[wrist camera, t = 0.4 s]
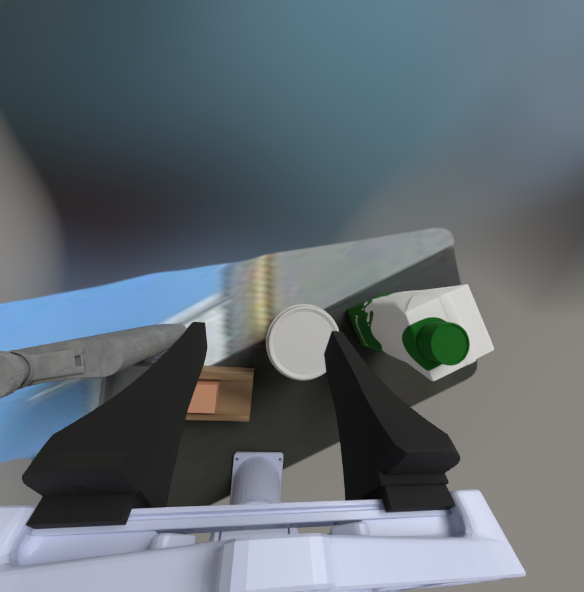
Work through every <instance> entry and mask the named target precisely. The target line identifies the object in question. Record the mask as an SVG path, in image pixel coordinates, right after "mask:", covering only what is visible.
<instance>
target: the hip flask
mask: <svg viewBox="0 0 584 592" xmlns="http://www.w3.org/2000/svg"><path fill="white" fill-rule="evenodd" d="M185 331H186V327H185V326H183V325H181V324H161V325H151V326H144V327H139V328H133V329H128V330H122V331H117V332H111V333H106V334H100V335H95V336H89V337H84V338H78V339H73V340H67V341H62V342H56V343H51V344H45V345H40V346H34V347H29V348H24V349H19V350H12V351H8V352H6V351H0V398H2V397H4V396H8V395H9V394H12V393H13V392H14V391H16V390H18V389H21V388H24V387H26V386H31V385H36V384H41V383H46V382H52V381H59V380H66V379H75V378H88V377H107V376H110V375H112V374H114V373H117V372H119V371H121V370H123V369H125V368H127V367H130V366H132V365H134V364H136V363H138V362H140V361H143V360H145V359H147V358H149V357H151V356H154V355H156V354H158V353H160V352H162V351H164V350H167V349H169V348H170V347H171V346H172V345H173V344H174V343H175V342H176V341H177V340H178V339H179V338H180V336H181V335H182V334H183V333H184V332H185Z"/></svg>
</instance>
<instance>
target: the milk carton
mask: <svg viewBox="0 0 584 592" xmlns="http://www.w3.org/2000/svg"><path fill="white" fill-rule="evenodd" d="M347 313H348V315H349V317H350V320H351V322H352V324H353V327H354V329H355V332H356V334H357V336H358V339H359V341H360V344H361V346H363V347H366V348H370V349H373V350H377V351H380V352H382V353H385V354H387V355H390V356H392V357H395V358H397V359H400V360H402V361H404V362H407V363H408V364H410V365H411V366H412V367H414V368H415V369H416V370H418V371H419V372H420V373H422V374H423V375H424V376H426V377H427V378H428V379H430V380H431V381H435V380H437V379H439V378H442V377H444V376H446V375H448V374H450V373H452V372H454V371H456V370H458V369H460V368H462V367H464V366H466V365H469V364H471V363H473V362H475V361H476V359H477V358H479V357H481V356H483V355H485V354H487V353H489V352H491V351H493V350H494V347H493V345H492V342H491V340H490V337H489V335H488V332H487V330H486V327H485V325H484V323H483V320H482V318H481V315H480V313H479V311H478V308H477V306H476V303H475V301H474V298H473V296H472V293H471V291H470V289H469V286H468V284H466V285H459V286H452V287H444V288H436V289H428V290H418V291H406V292H395V293H385V294H381V295H379V296H376V297H374V298H372V299H370V300H367V301H365V302H363V303H361V304H359V305H357V306H355V307H352V308H350V309H348V310H347Z"/></svg>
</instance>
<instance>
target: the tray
mask: <svg viewBox="0 0 584 592" xmlns="http://www.w3.org/2000/svg"><path fill="white" fill-rule="evenodd" d="M153 364H154V363H141V362H138V363H136V364H134V365H132V366H130V367H127V368H125V369H123V370H121V371H119V372H117V373H114V374H112V375H110V376H107V377H102V382H101V391H100V399H99V406H100V405H102V404H103V403H105V402H106V401H108V400H109V399H111V398H112V397H114V396H115V395H116V394H118V393H119V392H121V391H122V390H123V389H124V388H126V387H127V386H128V385H130V384H131V383H132V382H133V381H135V380H136V379H137V378H138V377H140V376H141V375H142V374H143V373H144V372H145V371H147V370H148V369H149V368H150V367H151V366H152V365H153Z"/></svg>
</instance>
